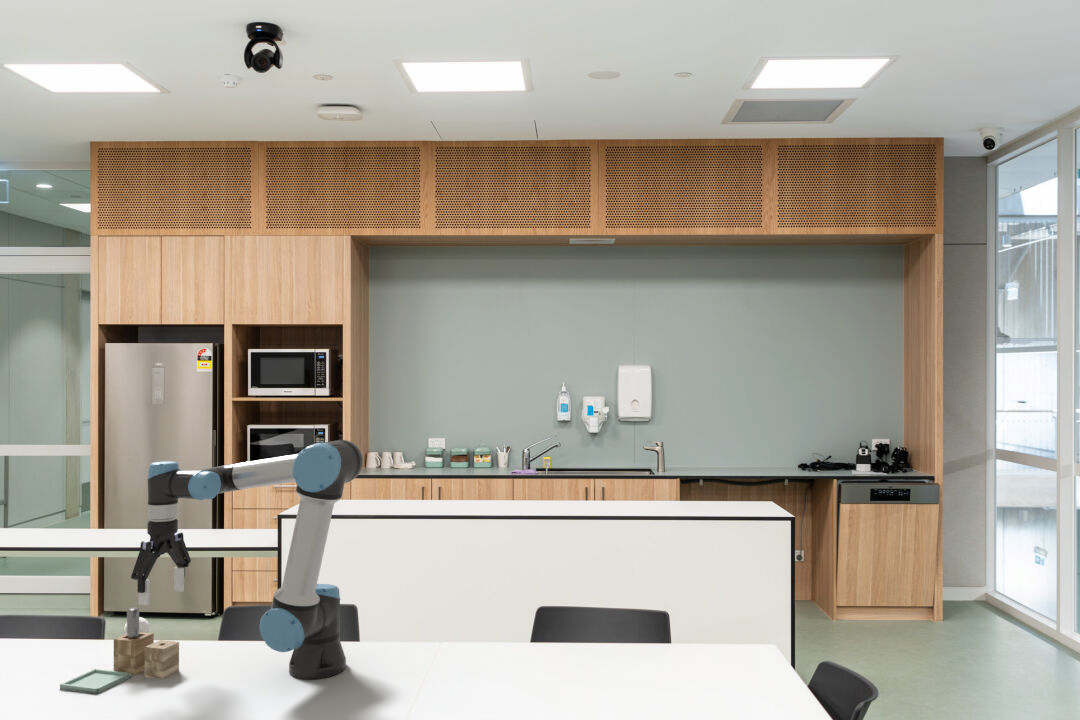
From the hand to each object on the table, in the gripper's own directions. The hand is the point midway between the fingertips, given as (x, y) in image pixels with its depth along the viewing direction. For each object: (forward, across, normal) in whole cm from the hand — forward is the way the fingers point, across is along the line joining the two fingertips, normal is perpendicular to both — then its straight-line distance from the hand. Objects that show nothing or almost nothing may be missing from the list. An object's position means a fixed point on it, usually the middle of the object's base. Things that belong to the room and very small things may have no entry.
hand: (161, 597), depth 224 cm
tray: (+21, +10, -12) cm, 26 cm away
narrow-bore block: (+21, 0, 0) cm, 21 cm away
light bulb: (+21, -10, -17) cm, 29 cm away
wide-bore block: (+21, -1, -10) cm, 23 cm away
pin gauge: (+19, -1, -10) cm, 21 cm away
